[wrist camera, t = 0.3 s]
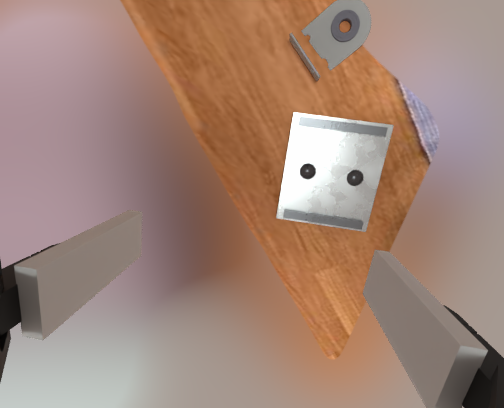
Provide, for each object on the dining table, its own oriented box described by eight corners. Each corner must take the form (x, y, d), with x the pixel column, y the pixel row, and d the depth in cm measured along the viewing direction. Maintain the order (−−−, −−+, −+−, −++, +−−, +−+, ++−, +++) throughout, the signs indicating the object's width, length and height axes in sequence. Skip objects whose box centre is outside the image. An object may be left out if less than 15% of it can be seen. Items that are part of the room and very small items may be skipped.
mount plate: (293, 112, 37) (294, 111, 35) (390, 125, 36) (396, 124, 35) (276, 216, 41) (276, 219, 40) (363, 229, 40) (367, 233, 39)
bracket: (378, 32, 34) (389, 21, 31) (314, 83, 36) (318, 77, 33) (351, -12, 33) (359, -28, 30) (288, 43, 35) (289, 33, 32)
